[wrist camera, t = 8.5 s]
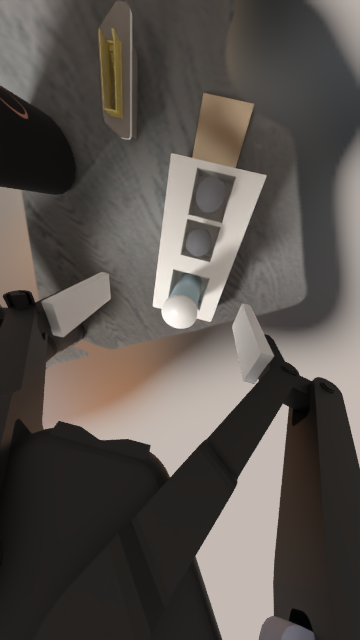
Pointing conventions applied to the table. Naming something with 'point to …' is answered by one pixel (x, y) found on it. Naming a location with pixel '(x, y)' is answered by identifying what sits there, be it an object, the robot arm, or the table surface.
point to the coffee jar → (32, 149)
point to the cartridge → (183, 302)
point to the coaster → (221, 129)
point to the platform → (119, 71)
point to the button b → (210, 194)
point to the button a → (198, 242)
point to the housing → (220, 224)
